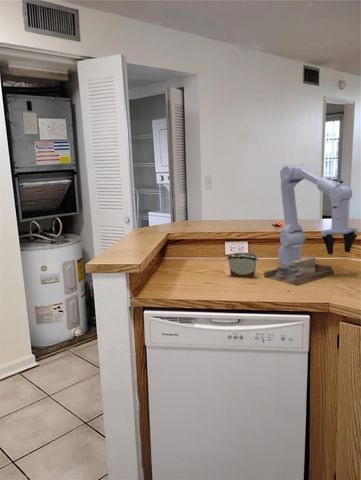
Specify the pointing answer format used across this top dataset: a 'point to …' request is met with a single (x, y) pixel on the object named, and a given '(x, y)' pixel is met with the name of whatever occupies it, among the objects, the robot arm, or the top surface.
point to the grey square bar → (288, 273)
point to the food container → (242, 265)
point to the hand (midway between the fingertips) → (338, 253)
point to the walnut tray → (319, 273)
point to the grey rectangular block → (305, 265)
